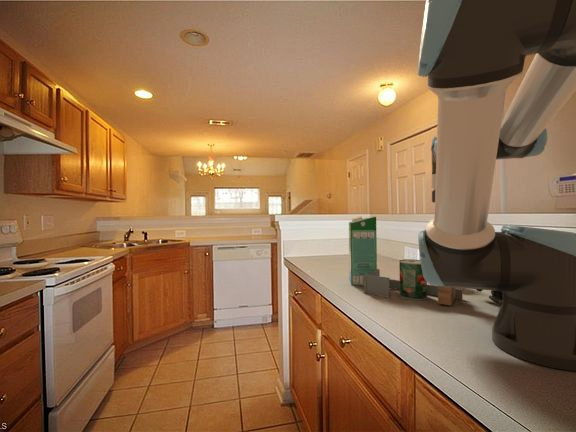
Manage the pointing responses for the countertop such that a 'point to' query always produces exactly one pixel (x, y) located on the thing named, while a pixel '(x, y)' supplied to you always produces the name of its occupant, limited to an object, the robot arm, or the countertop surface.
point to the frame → (393, 285)
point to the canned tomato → (412, 280)
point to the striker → (446, 295)
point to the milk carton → (362, 248)
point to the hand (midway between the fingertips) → (446, 269)
